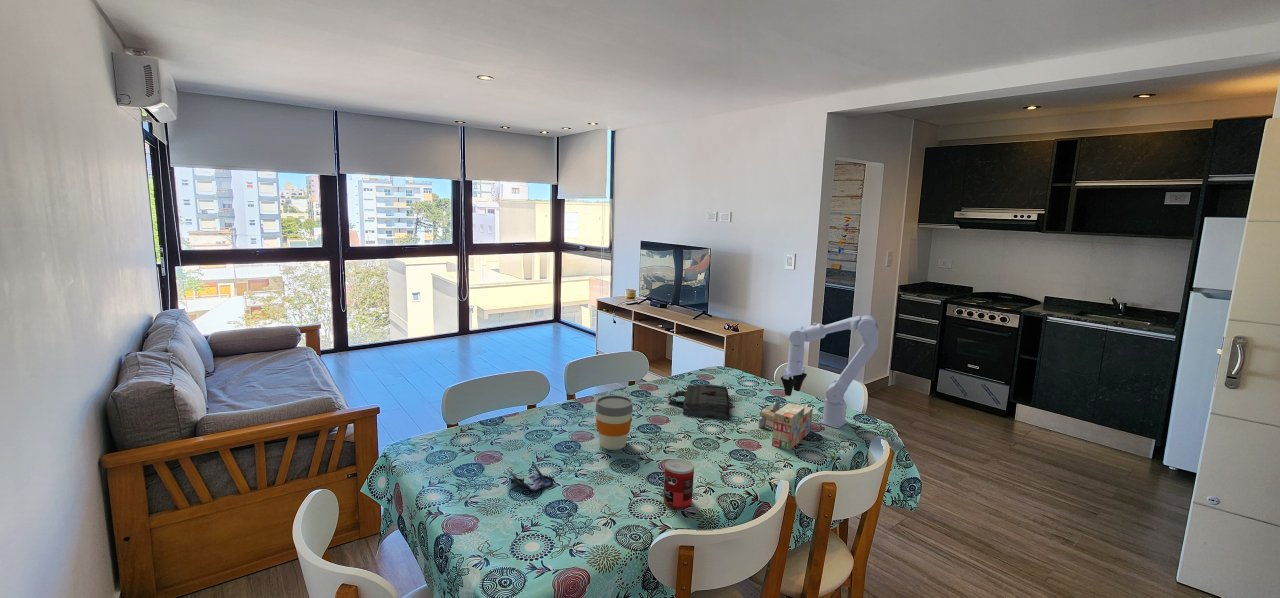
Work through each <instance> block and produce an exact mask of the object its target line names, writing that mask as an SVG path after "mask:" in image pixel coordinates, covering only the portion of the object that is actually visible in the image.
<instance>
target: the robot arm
mask: <svg viewBox="0 0 1280 598" xmlns="http://www.w3.org/2000/svg"><path fill="white" fill-rule="evenodd" d="M845 330H846V331H847V330H850V331H852V332H855V333H857V331H858V333H859V335H860V336H861V337H862V341H863V344H862V345H861V346H860V348H859V349H858V350H857V352H856V353H855V355H854V356H853V357H852V358H851V360H850V361H849V362H848V364H846V367H845V368H843V370H842V372H841V373H840V375H838V376H837V377H836V378H835V380H833V381H831V382H830V383H829V384H828V385H827V390H826V392H825V398H824V404H823V412H822V414H823V415H822V419H820V420H818V424H822V425H824V426H829V427H831V428H835V429H840V428H841V427H843V426H844V425H846V424H847V423H848V421H849V420H847V419H846V416H847V407H848V406H847V403H846V401H845V398H844V397H845V393H846V392H847V391H848V389H849V387H850V385H851V384H852V382H854V379H855V378H856V377H857V376H858V375H859V373H860V372H861V370H863V368H864V366H865V365H866V364H867V362H869V360H870V358H872V356H873V354H874V353H875V352H876V351H877V349H878V348H879V326H878V322H877V321H876V318H875V317H874V316H873V315H872V314H863V315H855V316H851V317H848V318H845V319H842V320H839V321H835V322H832V323H828V324H825V325H824V324H822V323H820V322H819V323H817V322H813V323H812V325H808V326H800V328H798V327H797V328H794V329H793V330H792V331H791V333H790V334H789V335H788V336H789V337H788V338H789V339H788V340H789V347H788V355H787V365H786V367H785V368H784V370H783V371H785V372H784V373H783V375H782V376H781V377H780V380H781V382H782V385H783V388H784V389H783V390H784V395H785V396H788V397H791V395H792V394H793V391H796V392H800V391H801V388H802V386H803V382H805V381H804V380H805V378H806V377H807V376H808V374H807V373H805V371H806V366H804V355H805V343H809V342H813V341H817V340H821V339H824V338H825V337H826V335H828V334H832V333H836V332H842V331H845Z"/></svg>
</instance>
